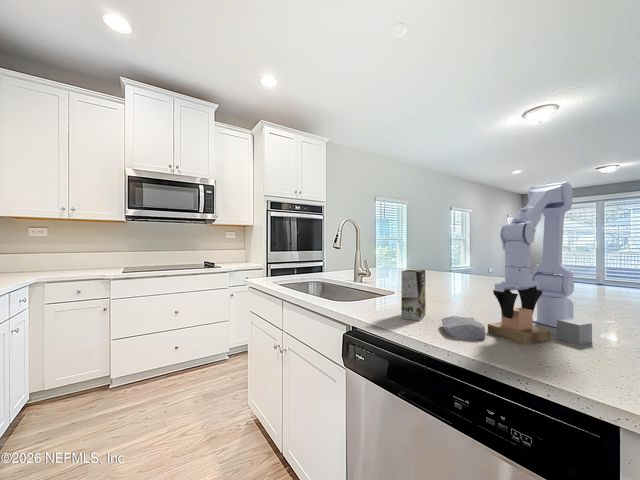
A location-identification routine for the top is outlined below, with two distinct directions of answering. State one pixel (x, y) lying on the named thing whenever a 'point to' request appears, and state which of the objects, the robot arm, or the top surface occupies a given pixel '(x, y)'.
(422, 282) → the coffee box
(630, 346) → the top surface
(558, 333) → the slate grey cube
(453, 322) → the stone block
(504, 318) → the terracotta cube
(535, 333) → the walnut block
